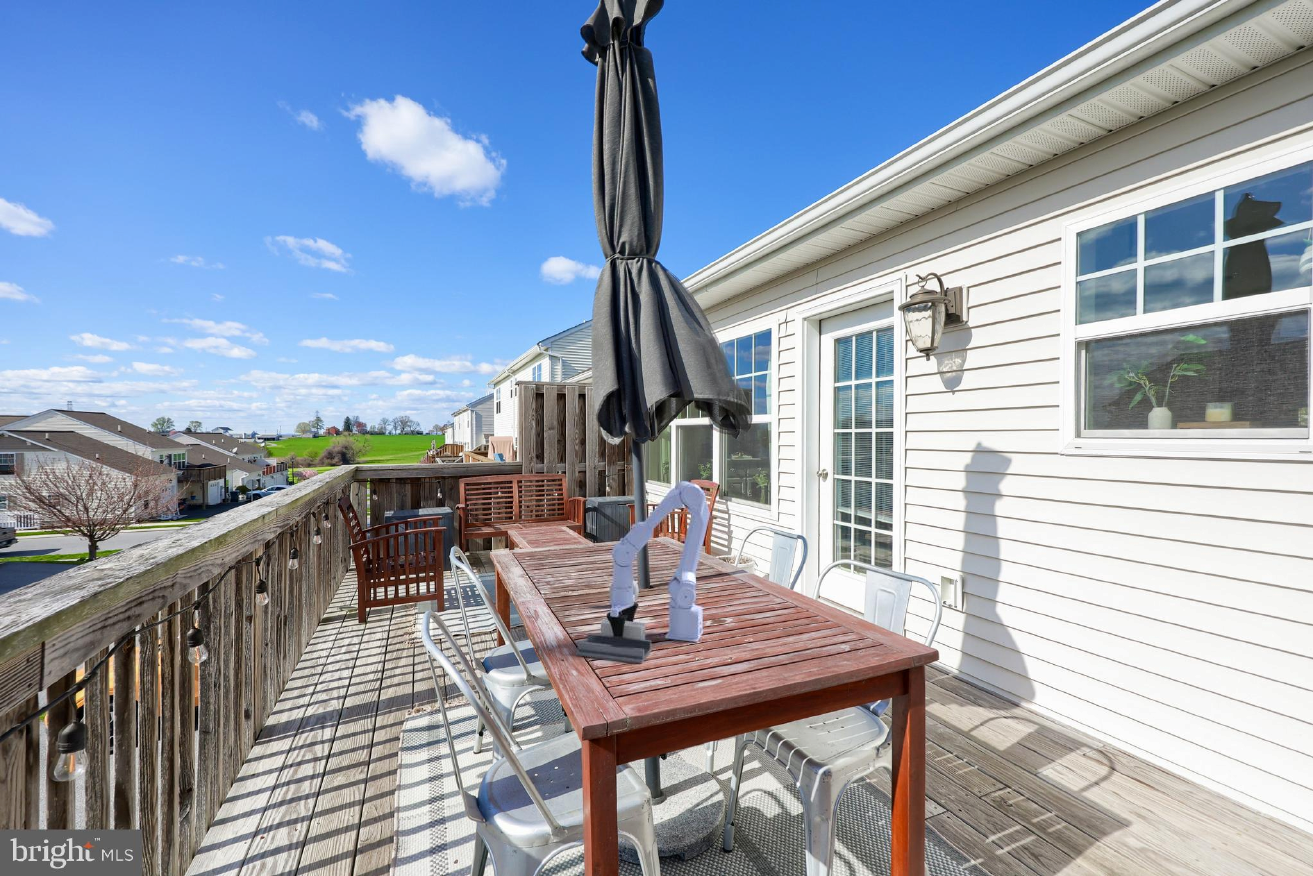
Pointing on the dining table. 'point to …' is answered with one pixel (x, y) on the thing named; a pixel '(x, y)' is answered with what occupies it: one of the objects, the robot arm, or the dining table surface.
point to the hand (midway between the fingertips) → (623, 634)
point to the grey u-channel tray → (615, 648)
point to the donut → (635, 590)
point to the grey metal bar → (625, 629)
